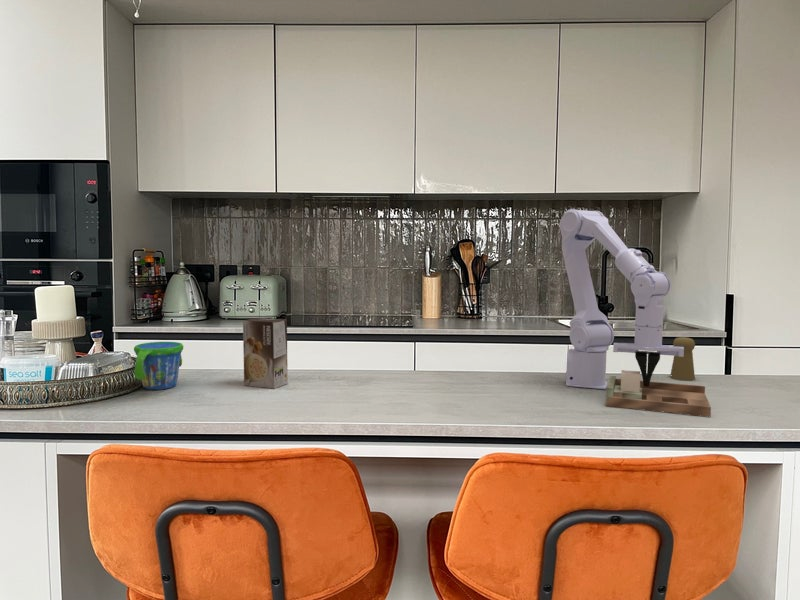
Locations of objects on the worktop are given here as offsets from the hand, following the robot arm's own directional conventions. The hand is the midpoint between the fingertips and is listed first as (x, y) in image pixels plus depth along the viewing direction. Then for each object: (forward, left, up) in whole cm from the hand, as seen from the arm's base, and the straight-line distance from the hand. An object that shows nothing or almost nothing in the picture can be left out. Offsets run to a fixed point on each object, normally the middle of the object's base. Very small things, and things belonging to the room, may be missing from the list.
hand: (646, 385), depth 133 cm
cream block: (-3, 0, -1) cm, 4 cm away
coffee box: (-86, -24, -3) cm, 89 cm away
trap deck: (+2, -3, -3) cm, 5 cm away
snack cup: (-107, -37, -3) cm, 113 cm away
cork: (+9, +30, -3) cm, 32 cm away
